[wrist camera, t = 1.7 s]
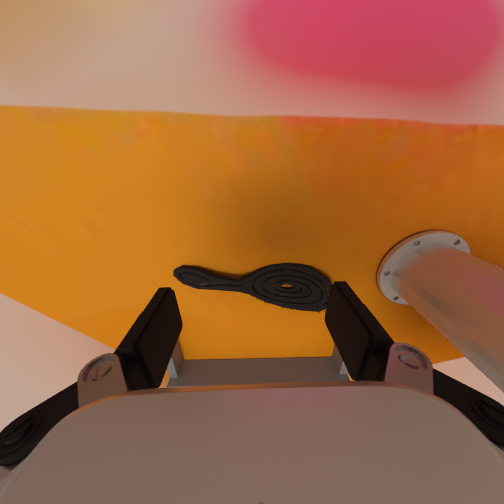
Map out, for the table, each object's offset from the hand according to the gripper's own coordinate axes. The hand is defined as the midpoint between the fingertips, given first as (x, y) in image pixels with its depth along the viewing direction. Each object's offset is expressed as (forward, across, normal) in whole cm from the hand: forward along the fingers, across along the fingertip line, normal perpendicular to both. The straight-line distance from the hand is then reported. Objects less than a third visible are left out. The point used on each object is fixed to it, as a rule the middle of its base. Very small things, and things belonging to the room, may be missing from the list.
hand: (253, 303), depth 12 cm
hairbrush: (+17, 0, +10) cm, 20 cm away
